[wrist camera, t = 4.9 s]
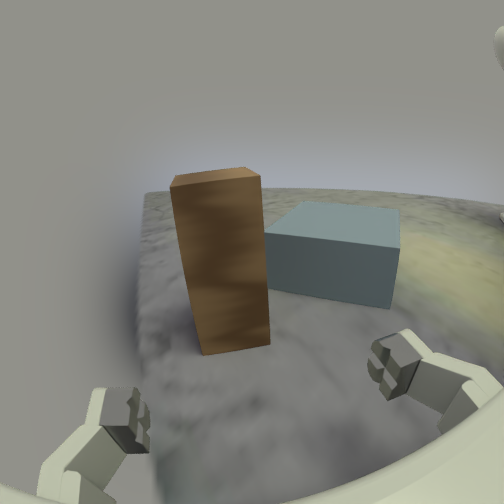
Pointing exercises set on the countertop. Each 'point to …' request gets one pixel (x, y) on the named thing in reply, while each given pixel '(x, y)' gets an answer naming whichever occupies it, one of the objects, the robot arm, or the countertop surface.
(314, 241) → the slate block
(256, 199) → the walnut block
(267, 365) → the countertop surface
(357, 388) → the countertop surface
